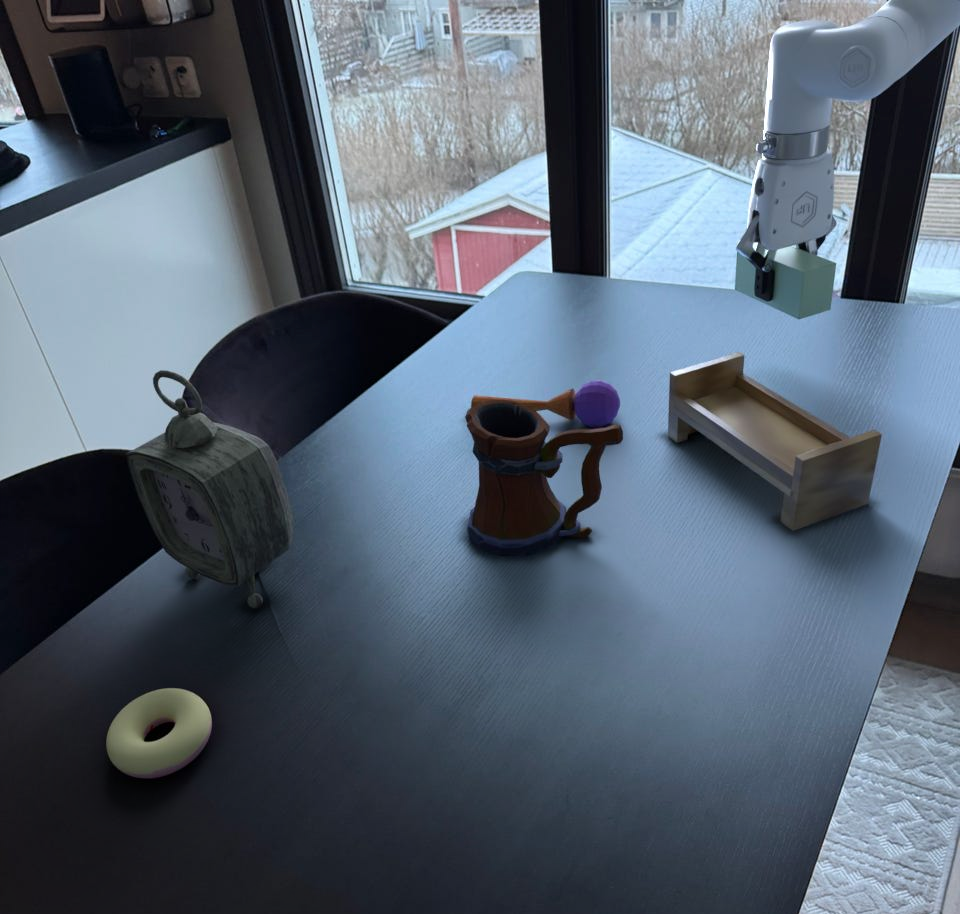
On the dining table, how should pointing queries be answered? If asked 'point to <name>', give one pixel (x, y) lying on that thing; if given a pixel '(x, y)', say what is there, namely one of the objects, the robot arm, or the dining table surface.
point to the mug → (527, 478)
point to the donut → (167, 751)
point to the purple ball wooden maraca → (575, 403)
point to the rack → (774, 439)
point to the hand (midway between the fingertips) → (781, 291)
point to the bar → (792, 281)
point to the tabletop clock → (212, 495)
